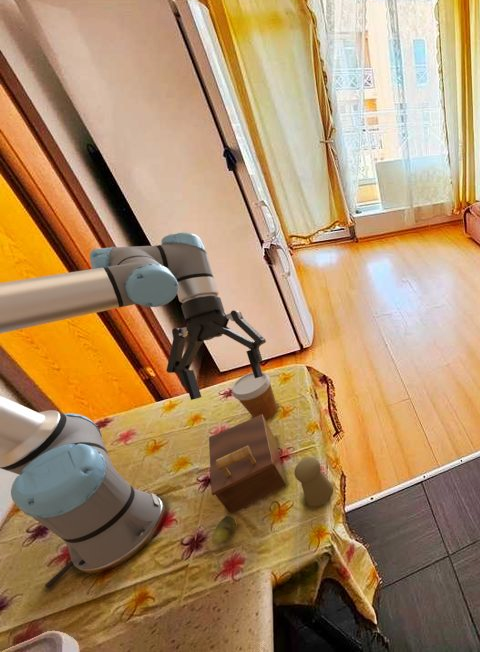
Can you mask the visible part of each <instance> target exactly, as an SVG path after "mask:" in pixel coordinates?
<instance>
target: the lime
mask: <svg viewBox="0 0 480 652" xmlns="http://www.w3.org/2000/svg"><path fill="white" fill-rule="evenodd" d="M237 526H238V524H237V520H236V519H235V518H234V517H233V516H231V515H226V516H224V517H223V518H222V519H220V521H219V522H218V524H217V526H216V527H215V529H214V531H213V534H212V538H211V543H212V544H215V545H220V544H224V543H227V542H228V541H229V540H231V539H232V538H233V537H234V535H235V532H236V531H237V528H238V527H237Z"/></svg>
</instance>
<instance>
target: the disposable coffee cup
mask: <svg viewBox="0 0 480 652" xmlns="http://www.w3.org/2000/svg"><path fill="white" fill-rule="evenodd" d="M262 374H263V376H262V377H258V378H255V377H254V374H253V371H251V372H249V373H246V374H244V375H242V376H241V377H239V378H237V380H236V381H235V382H234V383H233V384H232V391H231V392H232V393H231V394H232V396H233V398H234V399H236V400H238V401H239V402H240V404H241V405H242V406H243V407H244V408H245V409H246V411H247V412H248V414H250V415H251V416H252V418H254V417H256V416H259V415H261V414H262V415H263V417H264V418H265V420H266V421H267V420H269V419H270V418H272V417H273V416H274V415H275V414H276V413H277V411H278V405H277V401H276V398H275V395H274V392H273V388H272V384H271V382H272V381H271V377H270V375H268V374H266V372H263V371H262Z"/></svg>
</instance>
